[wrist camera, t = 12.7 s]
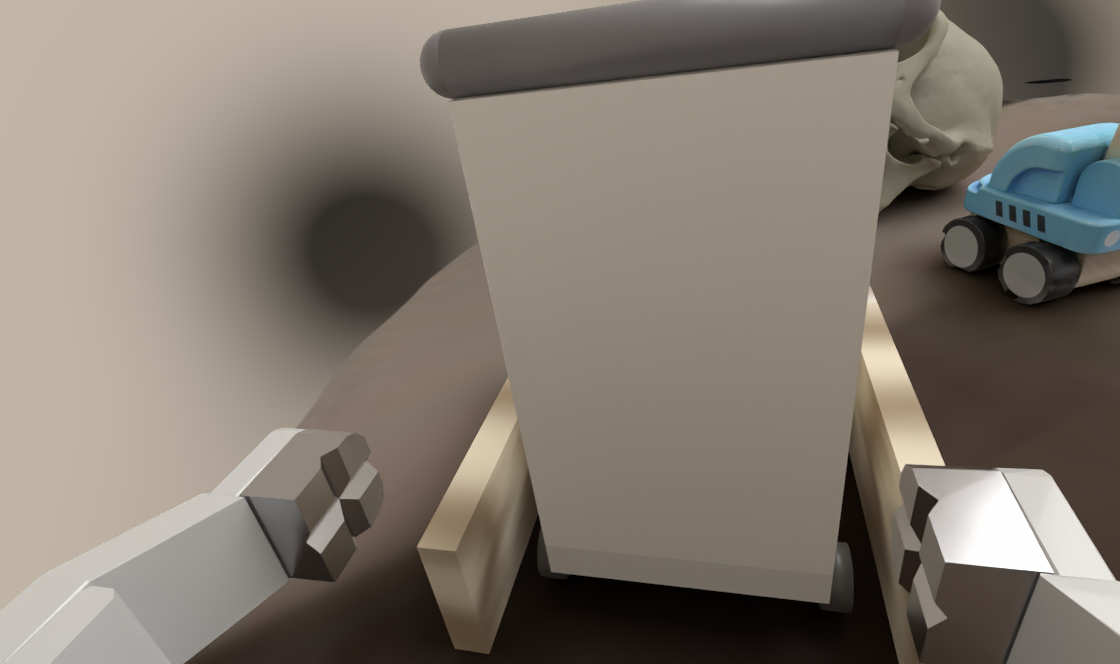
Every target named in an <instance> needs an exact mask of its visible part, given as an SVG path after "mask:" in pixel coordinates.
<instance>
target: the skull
mask: <svg viewBox="0 0 1120 664" xmlns="http://www.w3.org/2000/svg"><path fill="white" fill-rule="evenodd" d="M896 50H898V51H899V55H898V63H897V70H896V78H895V86H894V94H893V102H892V110H891V118H890V126H889V134H888V142H887V150H886V158H885V166H884V174H883V182H882V190H881V198H880V205H879V212H880V211H881V210H883V209H884V208H885V207H887V206H888V205H889V204H890V203H891V202H892V201H893V199H894V198H895V197H896V196H898V195H899V194H900V193H901V192H902V191H903V190H904V189H905V188H906V187H909V186H913V187H916V188H918V189H925V190H939V189H942V188H944V187H948V186H951V185H953V184H954V183H957V182H959V181H961V180H963V179H965V178H966V177H968V176H969V175H971V174H972V173H973V172H974V171H976V170H977V169H978V168H979V167H980V166H981V164H982V163H983V162H984V161H985V160H986V158H987V157H988V155H989V154H990V153H991V152H992V151H993V149H994V146H993V143H992V141H993V137H994V134H995V132H996V129H997V127H998V124H999V120H1000V117H1001V108H1002V94H1003V85H1002V78H1001V75H1000V72H999V70H998V67H997V65H996V64H995V62H994V60H993V59H992V58H991V56H990V55H989V53H988V52H987V51H986V49H985V48H984V47H983V46H982V45H981V44H980V43H979V42H977V41H976V40H975V39H974V38H972V37H970V36H969V35H968V34H966V33H965V32H964V31H962V30H961V29H960V28H959V27H957V26H956V25H955V24H953V23H952V22H950V21H949V20H948V19H947V18H946V16H945V15H944V13H943V12H942V11H941V10H940V9H939V12H938V14H937V16H936V18H935V20H934V22H933V23H932V25H931V26H930V27H929V29H928V30H927V31H926V32H925V33H924V34H923V35H922V36H921V37H919V38H918V39H917V40H915V41H914V42H912V43H910V44H909V45H906V46H904V47H901V48H897V49H896Z"/></svg>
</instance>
